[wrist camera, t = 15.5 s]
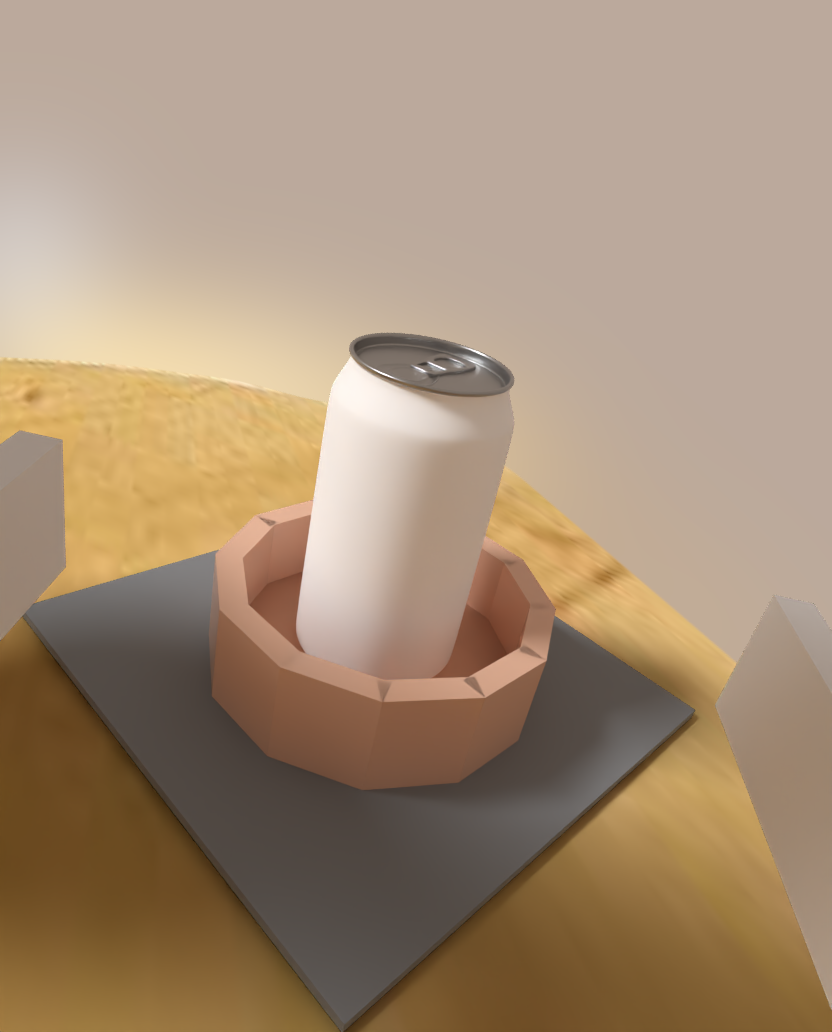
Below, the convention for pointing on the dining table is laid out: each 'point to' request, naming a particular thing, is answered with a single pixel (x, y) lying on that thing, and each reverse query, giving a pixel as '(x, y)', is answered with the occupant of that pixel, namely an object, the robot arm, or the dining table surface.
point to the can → (402, 503)
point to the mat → (334, 805)
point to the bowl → (361, 697)
